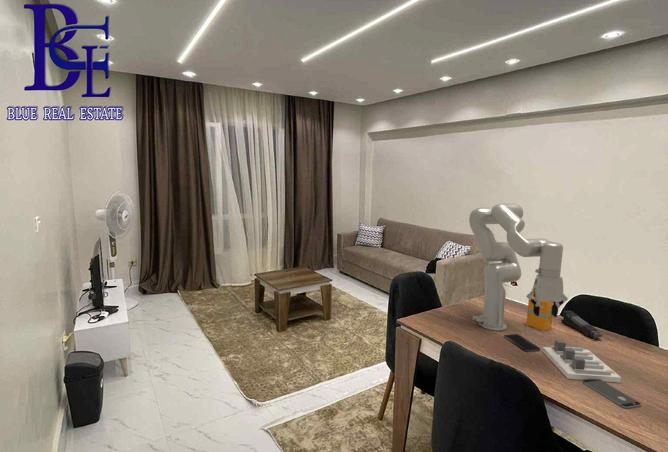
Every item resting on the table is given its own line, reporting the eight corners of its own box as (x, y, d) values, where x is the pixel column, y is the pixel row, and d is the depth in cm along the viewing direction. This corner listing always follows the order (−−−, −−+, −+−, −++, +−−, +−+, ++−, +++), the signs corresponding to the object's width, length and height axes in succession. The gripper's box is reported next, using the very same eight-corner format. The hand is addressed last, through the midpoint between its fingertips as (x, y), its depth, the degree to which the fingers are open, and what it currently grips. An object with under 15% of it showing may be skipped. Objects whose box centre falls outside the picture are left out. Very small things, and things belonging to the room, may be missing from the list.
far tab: (557, 352, 149) (558, 342, 148) (553, 349, 152) (555, 339, 151) (564, 353, 149) (565, 343, 148) (561, 350, 151) (562, 340, 151)
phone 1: (525, 350, 154) (502, 335, 168) (525, 353, 154) (502, 337, 168) (541, 349, 155) (518, 333, 170) (541, 351, 155) (517, 336, 170)
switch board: (567, 378, 134) (568, 370, 133) (542, 351, 155) (543, 344, 154) (620, 382, 132) (621, 374, 131) (587, 354, 153) (588, 347, 152)
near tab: (575, 371, 135) (576, 360, 135) (571, 367, 138) (572, 356, 137) (583, 371, 135) (585, 360, 134) (580, 367, 138) (581, 357, 137)
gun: (565, 320, 187) (572, 305, 182) (595, 350, 170) (604, 334, 165) (557, 321, 186) (564, 305, 181) (586, 350, 169) (595, 335, 164)
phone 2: (580, 382, 132) (624, 410, 117) (580, 380, 132) (624, 407, 117) (596, 380, 134) (642, 407, 119) (597, 377, 134) (643, 404, 119)
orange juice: (544, 331, 175) (549, 291, 172) (526, 325, 181) (529, 286, 178) (551, 326, 179) (555, 288, 177) (532, 321, 186) (536, 283, 183)
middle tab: (565, 361, 142) (566, 350, 142) (562, 358, 145) (563, 347, 144) (573, 361, 142) (575, 351, 141) (570, 358, 144) (571, 348, 144)
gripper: (530, 274, 143) (526, 317, 146) (577, 276, 141) (572, 320, 144) (523, 269, 151) (519, 310, 153) (567, 271, 149) (562, 312, 151)
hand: (545, 314), depth 149 cm, fingers open, 6 cm apart
